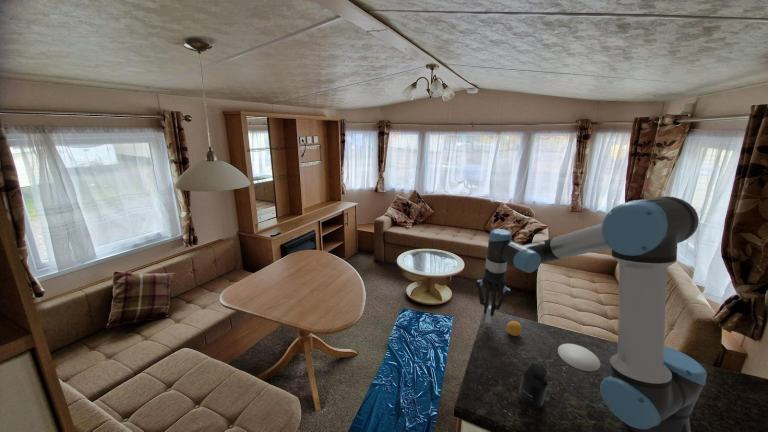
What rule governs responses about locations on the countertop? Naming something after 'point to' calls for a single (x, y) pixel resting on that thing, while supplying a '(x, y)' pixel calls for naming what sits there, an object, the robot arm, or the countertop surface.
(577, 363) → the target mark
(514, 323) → the ball
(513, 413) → the countertop surface
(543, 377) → the supplement bottle
